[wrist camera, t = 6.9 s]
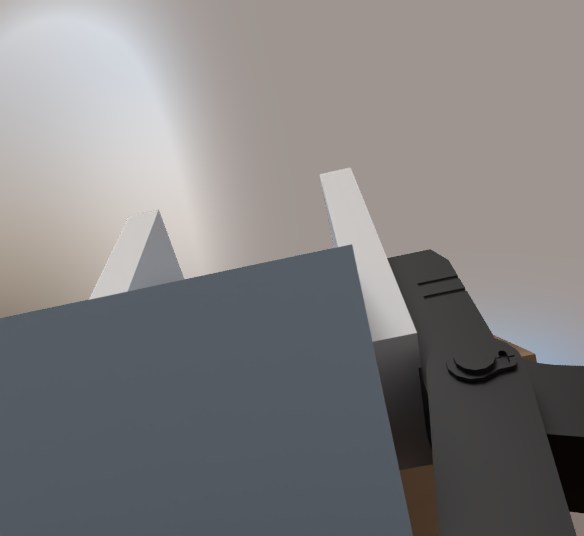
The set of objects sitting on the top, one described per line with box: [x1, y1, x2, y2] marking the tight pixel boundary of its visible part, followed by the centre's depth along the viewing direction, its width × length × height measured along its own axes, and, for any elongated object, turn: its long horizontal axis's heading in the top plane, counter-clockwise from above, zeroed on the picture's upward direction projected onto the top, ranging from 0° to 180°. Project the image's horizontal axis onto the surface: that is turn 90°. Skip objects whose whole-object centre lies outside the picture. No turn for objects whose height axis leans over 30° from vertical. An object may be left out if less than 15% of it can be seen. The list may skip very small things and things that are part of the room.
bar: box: [0, 244, 413, 536], centre depth 20 cm, size 30×4×4 cm, turn 176°
